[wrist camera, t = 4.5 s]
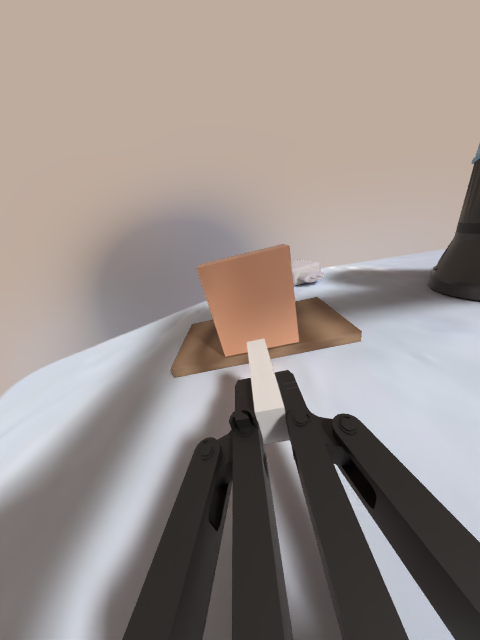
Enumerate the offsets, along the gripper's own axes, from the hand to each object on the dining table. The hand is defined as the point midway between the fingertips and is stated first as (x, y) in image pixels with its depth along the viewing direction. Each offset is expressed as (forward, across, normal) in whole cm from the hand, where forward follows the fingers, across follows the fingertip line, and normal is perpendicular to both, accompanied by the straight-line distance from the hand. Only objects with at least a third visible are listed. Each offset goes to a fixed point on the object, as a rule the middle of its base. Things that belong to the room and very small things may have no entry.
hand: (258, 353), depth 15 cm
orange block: (+12, 0, -5) cm, 13 cm away
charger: (+38, +16, -7) cm, 42 cm away
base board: (+14, 0, -7) cm, 16 cm away
